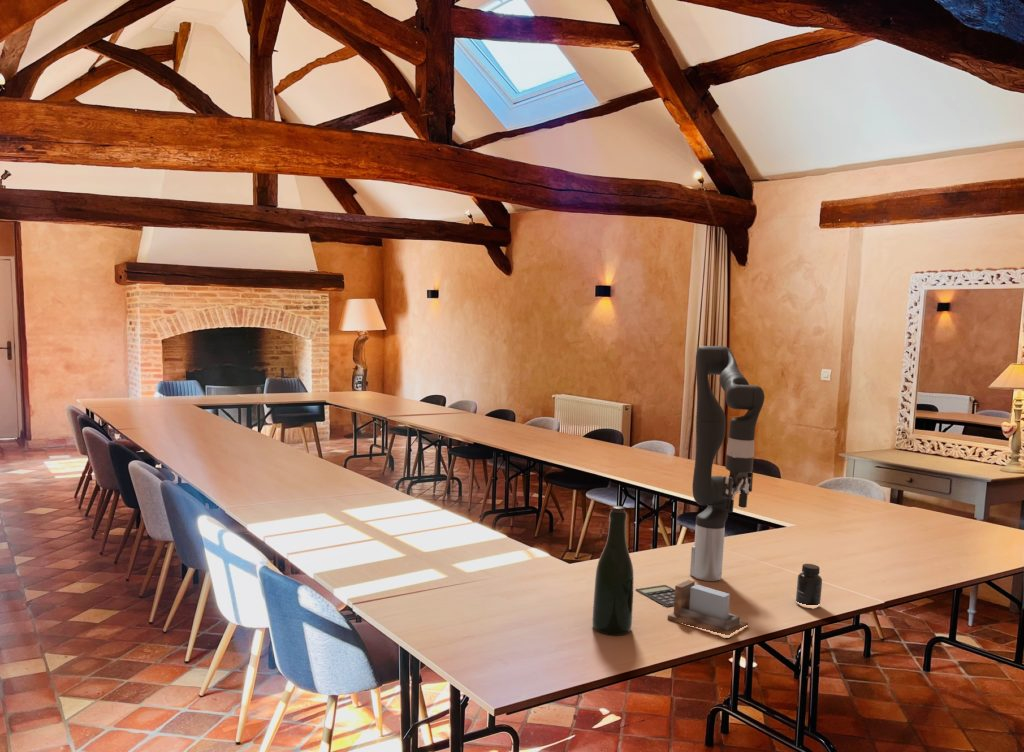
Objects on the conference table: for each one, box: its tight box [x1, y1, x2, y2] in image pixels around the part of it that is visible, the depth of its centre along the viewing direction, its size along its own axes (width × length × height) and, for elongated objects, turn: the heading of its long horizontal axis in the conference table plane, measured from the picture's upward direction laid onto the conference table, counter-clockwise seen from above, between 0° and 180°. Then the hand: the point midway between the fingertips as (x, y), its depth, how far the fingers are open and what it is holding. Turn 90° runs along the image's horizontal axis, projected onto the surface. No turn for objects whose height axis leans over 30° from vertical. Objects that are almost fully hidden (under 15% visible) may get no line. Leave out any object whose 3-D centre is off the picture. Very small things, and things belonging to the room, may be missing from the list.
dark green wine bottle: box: [591, 505, 635, 636], centre depth 205 cm, size 10×10×33 cm
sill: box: [667, 579, 749, 635], centre depth 213 cm, size 18×12×9 cm, turn 48°
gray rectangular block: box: [689, 584, 731, 621], centre depth 213 cm, size 10×4×8 cm, turn 48°
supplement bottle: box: [795, 563, 823, 605], centre depth 230 cm, size 7×7×12 cm
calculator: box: [635, 584, 675, 608], centre depth 233 cm, size 12×1×15 cm
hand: (735, 509), depth 223 cm, fingers open, 8 cm apart
